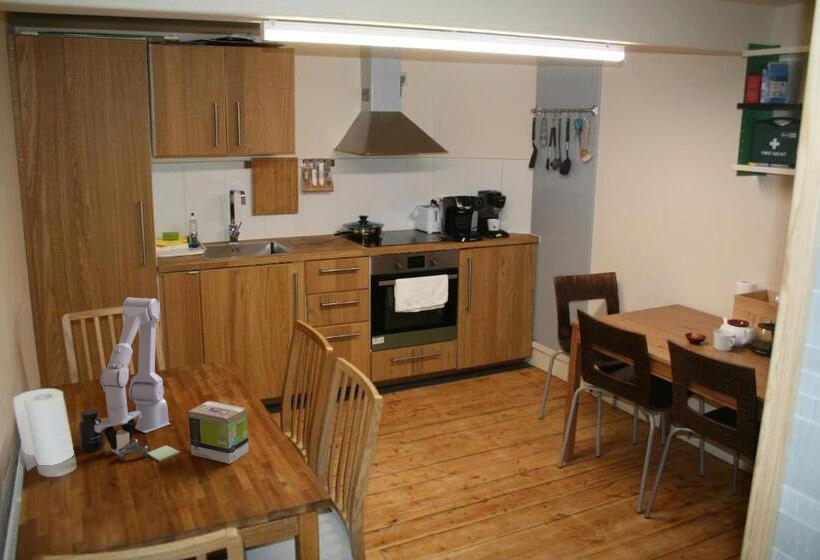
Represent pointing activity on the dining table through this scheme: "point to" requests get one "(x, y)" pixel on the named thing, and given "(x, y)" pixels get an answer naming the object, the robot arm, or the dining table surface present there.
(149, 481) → the dining table surface
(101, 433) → the supplement bottle
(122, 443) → the block
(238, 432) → the tea box
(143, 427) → the robot arm
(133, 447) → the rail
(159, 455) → the pad
